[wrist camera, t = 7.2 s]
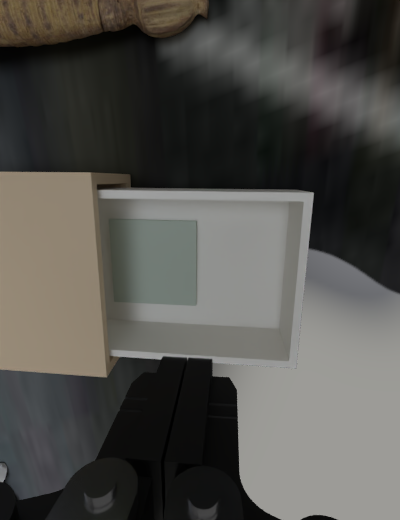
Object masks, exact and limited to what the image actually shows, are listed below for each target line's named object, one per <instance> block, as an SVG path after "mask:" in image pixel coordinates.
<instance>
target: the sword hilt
mask: <svg viewBox="0 0 400 520" xmlns="http://www.w3.org/2000/svg"><path fill="white" fill-rule="evenodd" d="M208 7H209V3H208V0H0V47H12V46H15V47H25V46H41V45H43V44H48V45H53V44H57V43H59V42H68V41H71V40H74V39H82V38H85V37H88V36H91V35H96V34H100V33H101V32H108V31H112V32H115V31H119V30H123V29H125V28H127V27H128V26H130V25H132V24H135V25H137V26H138V27H139V28H140V29H141V30H142V32H144V33H146V34H147V35H149V36H152V37H156V38H166V37H170V36H174V35H176V34H178V33H181V32H182V31H183V30H184V29H186V28H187V27H188V26H189V25H190V24H191V22H192V21H193V19H194V17H195V16H196V15H197V14H199V15H201V16H203V17H205V18H206V19H207V16H208Z"/></svg>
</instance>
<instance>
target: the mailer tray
mask: <svg viewBox="0 0 400 520" xmlns="http://www.w3.org/2000/svg"><path fill="white" fill-rule="evenodd" d="M97 196H98V210H99V223H100V237H101V251H102V264H103V278H104V291H105V305H106V318H107V332H108V345H109V356H118V357H133V358H147V359H162V357H163V356H170V357H187V360H188V358H206V359H212V363H222V364H236V365H251V366H266V367H280V368H295V369H296V367H297V355H298V346H299V336H300V326H301V316H302V306H303V295H304V286H305V276H306V266H307V256H308V246H309V236H310V226H311V216H312V206H313V196H314V193H312V192H307V191H301V190H274V189H190V188H107V187H97Z"/></svg>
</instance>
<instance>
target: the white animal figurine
mask: <svg viewBox="0 0 400 520" xmlns="http://www.w3.org/2000/svg"><path fill="white" fill-rule="evenodd" d="M6 473H7V466H6V465H5V463H0V482H4V480H5V477H6Z"/></svg>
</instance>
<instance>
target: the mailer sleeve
mask: <svg viewBox="0 0 400 520" xmlns="http://www.w3.org/2000/svg"><path fill="white" fill-rule="evenodd" d="M97 187H107V188H131V178H130V174H112V173H91V172H0V369H2V370H16V371H29V372H42V373H56V374H69V375H82V376H96V377H107V376H108V374H109V373H110V371H111V370H112V368H113V367H114V365H115V364H116V362H117V360H118V359H119V357H118V356H109V345H108V332H107V318H106V305H105V291H104V278H103V264H102V251H101V237H100V223H99V210H98V196H97Z"/></svg>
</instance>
